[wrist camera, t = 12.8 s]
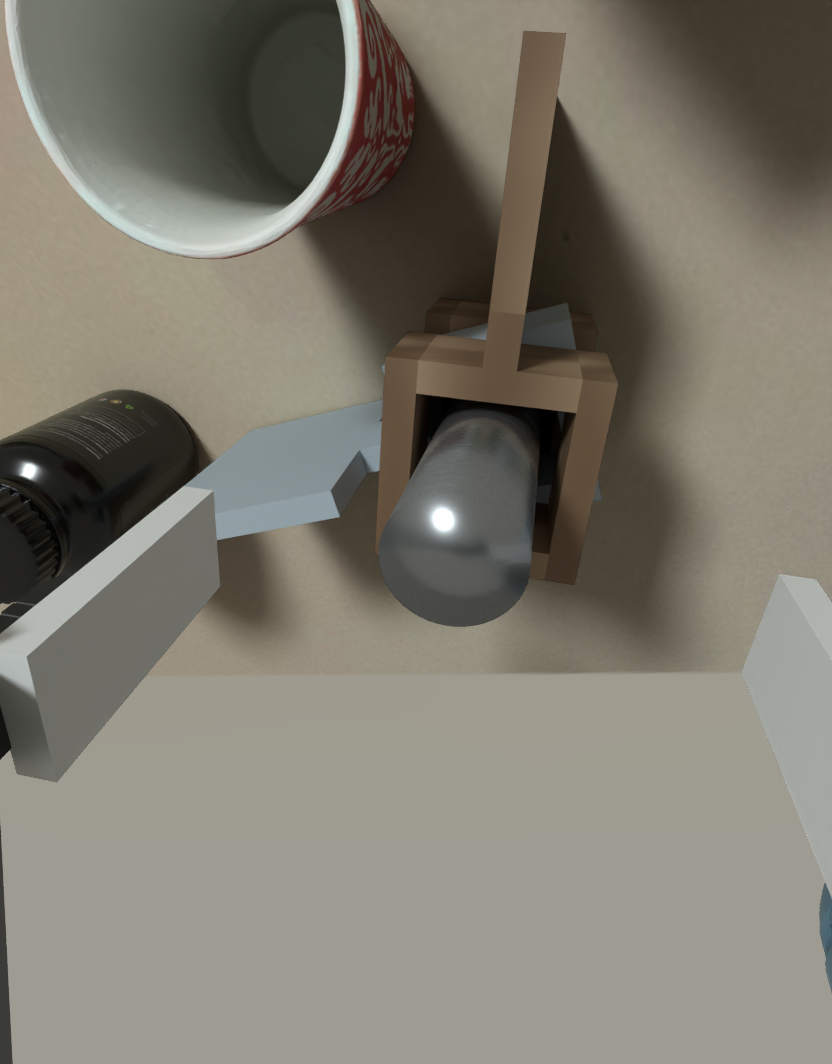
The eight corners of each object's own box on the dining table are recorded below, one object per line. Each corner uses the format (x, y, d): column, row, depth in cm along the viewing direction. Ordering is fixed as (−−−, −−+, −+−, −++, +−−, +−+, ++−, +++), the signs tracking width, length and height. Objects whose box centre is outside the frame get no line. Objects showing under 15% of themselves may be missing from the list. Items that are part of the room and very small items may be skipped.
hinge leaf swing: (564, 288, 29) (576, 343, 19) (589, 435, 32) (611, 550, 22) (230, 376, 34) (94, 457, 23) (277, 497, 36) (174, 618, 26)
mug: (456, 210, 29) (395, 226, 17) (261, 248, 31) (85, 285, 19) (402, -185, 23) (258, -568, 12) (171, -108, 25) (-152, -366, 14)
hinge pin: (551, 346, 31) (542, 503, 15) (538, 422, 32) (518, 637, 16) (472, 337, 31) (381, 480, 15) (464, 413, 33) (374, 613, 17)
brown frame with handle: (632, 100, 26) (693, 40, 15) (564, 457, 33) (574, 584, 22) (458, 88, 27) (403, 23, 16) (427, 439, 34) (374, 554, 23)
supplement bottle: (58, 420, 37) (-137, 513, 26) (149, 364, 34) (-25, 442, 24) (135, 522, 39) (-17, 647, 28) (225, 476, 37) (97, 594, 26)
